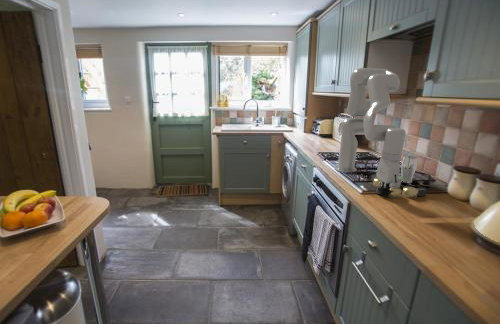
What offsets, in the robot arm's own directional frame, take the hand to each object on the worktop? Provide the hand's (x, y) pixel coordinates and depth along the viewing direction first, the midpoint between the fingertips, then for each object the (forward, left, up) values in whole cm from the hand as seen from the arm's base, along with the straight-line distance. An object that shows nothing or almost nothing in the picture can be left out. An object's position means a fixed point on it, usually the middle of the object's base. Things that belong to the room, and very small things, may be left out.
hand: (384, 195), depth 120 cm
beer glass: (-20, +23, -3) cm, 31 cm away
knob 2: (-1, +15, -1) cm, 15 cm away
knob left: (-15, +5, -1) cm, 16 cm away
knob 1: (-2, +3, -1) cm, 4 cm away
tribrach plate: (-7, +9, -3) cm, 12 cm away
